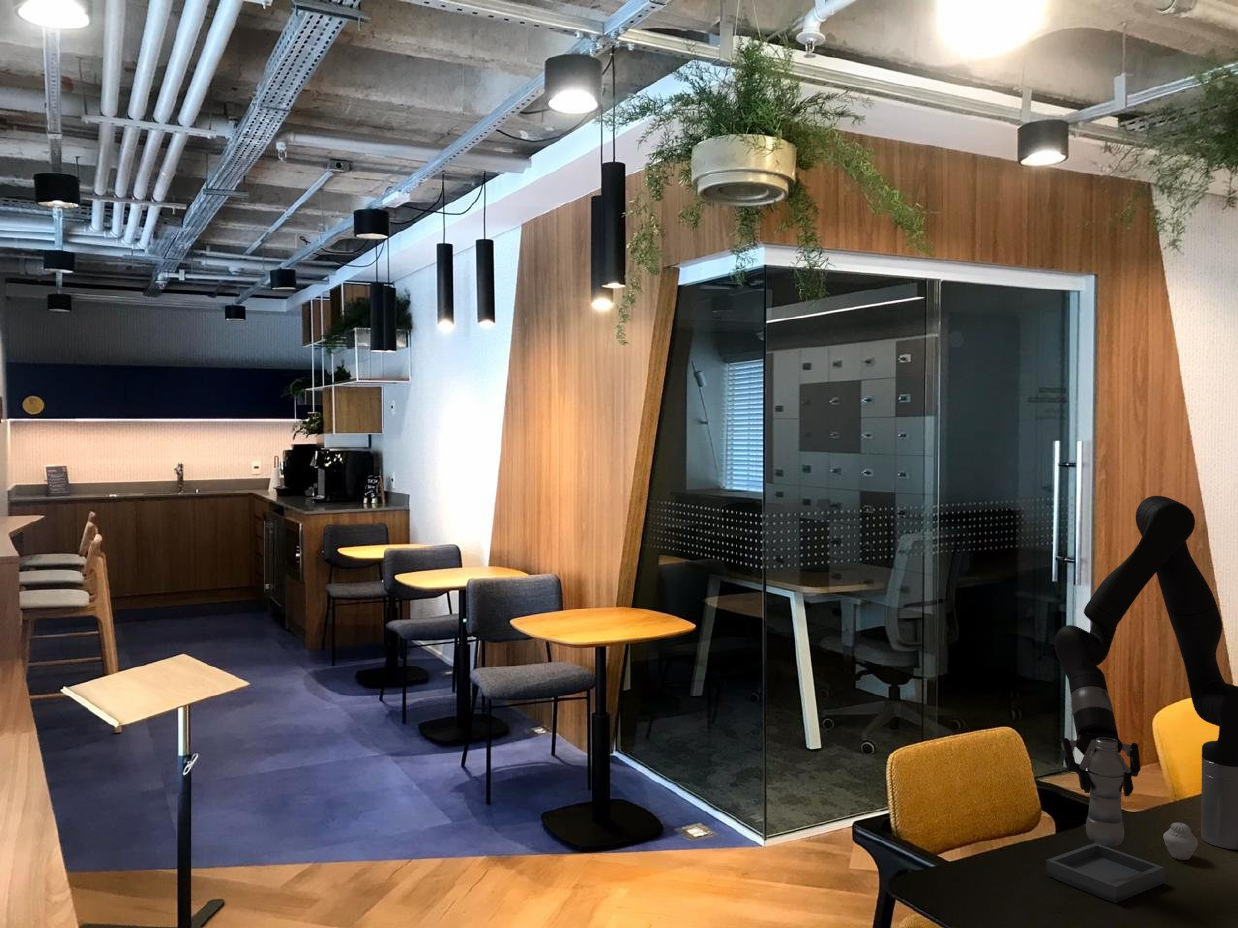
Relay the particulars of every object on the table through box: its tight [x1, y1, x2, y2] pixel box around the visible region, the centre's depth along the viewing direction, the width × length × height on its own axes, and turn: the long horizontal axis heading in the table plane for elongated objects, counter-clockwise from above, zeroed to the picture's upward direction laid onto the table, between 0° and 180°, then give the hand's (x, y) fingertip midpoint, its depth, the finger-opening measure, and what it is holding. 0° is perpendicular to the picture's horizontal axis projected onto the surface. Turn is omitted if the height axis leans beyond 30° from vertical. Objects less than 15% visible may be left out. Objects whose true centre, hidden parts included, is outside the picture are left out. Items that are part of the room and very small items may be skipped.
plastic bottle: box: [1085, 737, 1125, 847], centre depth 189 cm, size 6×7×20 cm
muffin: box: [1162, 822, 1199, 861], centre depth 200 cm, size 6×6×7 cm
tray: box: [1045, 842, 1165, 904], centre depth 189 cm, size 16×14×3 cm
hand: (1107, 792), depth 187 cm, fingers closed on plastic bottle, 6 cm apart
